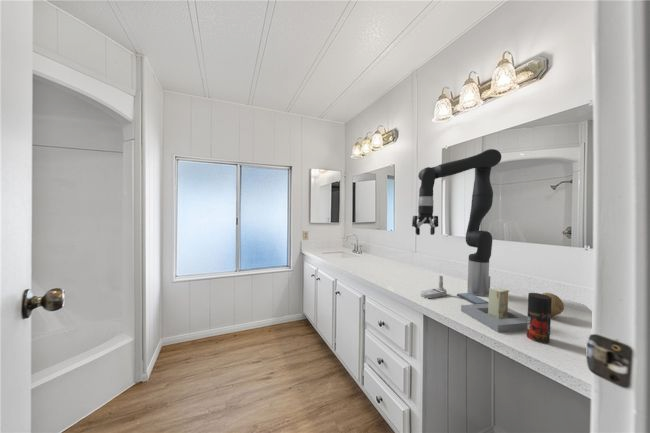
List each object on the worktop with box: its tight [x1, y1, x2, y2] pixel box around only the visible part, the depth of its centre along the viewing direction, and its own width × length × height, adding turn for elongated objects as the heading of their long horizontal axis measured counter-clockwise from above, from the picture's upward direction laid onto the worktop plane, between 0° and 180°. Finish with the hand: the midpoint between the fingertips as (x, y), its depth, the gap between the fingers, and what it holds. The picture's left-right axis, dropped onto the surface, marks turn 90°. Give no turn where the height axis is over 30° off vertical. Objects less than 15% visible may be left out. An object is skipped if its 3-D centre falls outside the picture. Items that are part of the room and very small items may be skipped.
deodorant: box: [526, 292, 552, 345], centre depth 82 cm, size 6×6×15 cm
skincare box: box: [487, 286, 510, 319], centre depth 97 cm, size 6×4×12 cm
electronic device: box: [420, 275, 447, 299], centre depth 123 cm, size 5×10×15 cm
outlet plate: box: [460, 303, 527, 333], centre depth 97 cm, size 18×18×2 cm
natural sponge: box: [542, 292, 565, 318], centre depth 99 cm, size 9×9×10 cm
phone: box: [456, 292, 489, 304], centre depth 117 cm, size 7×13×1 cm, turn 10°
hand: (425, 234), depth 131 cm, fingers open, 8 cm apart
